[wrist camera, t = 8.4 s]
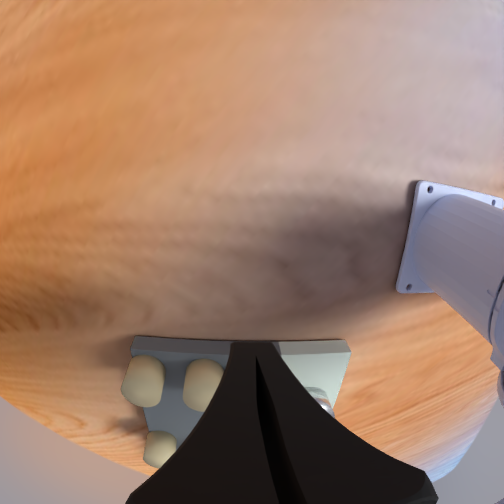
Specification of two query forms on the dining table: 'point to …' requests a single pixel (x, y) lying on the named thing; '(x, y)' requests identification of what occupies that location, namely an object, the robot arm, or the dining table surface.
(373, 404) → the dining table surface
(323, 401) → the steel nut
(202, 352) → the board
